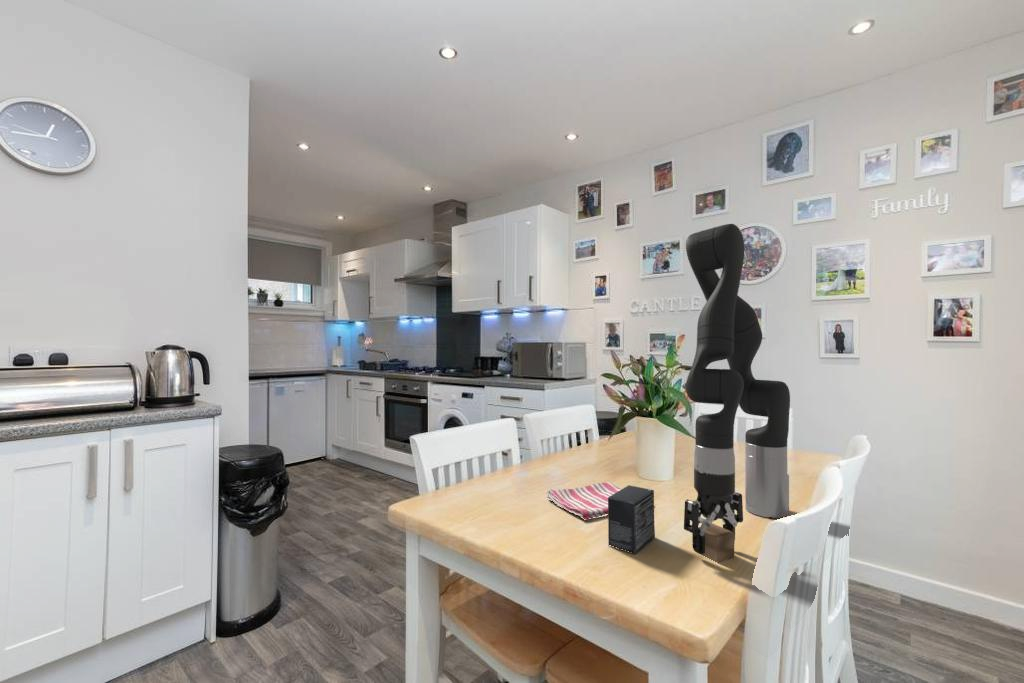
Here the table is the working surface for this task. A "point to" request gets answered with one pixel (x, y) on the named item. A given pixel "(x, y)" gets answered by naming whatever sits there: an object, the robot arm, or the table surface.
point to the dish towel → (585, 499)
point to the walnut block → (718, 543)
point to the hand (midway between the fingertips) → (714, 548)
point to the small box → (631, 518)
